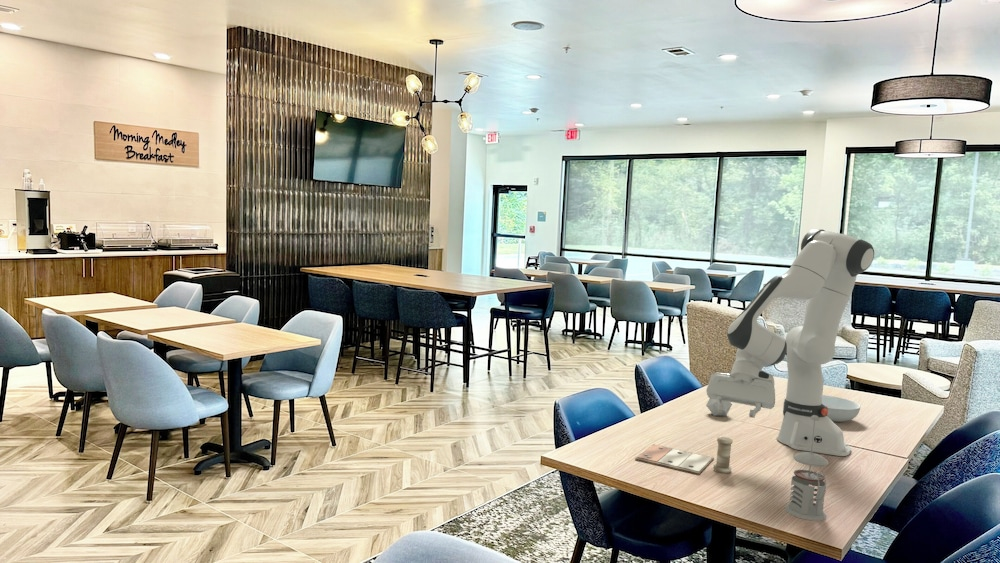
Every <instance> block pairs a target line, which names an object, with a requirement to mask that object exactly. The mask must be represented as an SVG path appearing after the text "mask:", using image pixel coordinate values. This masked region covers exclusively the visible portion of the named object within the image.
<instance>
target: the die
mask: <svg viewBox="0 0 1000 563" xmlns="http://www.w3.org/2000/svg"><path fill="white" fill-rule="evenodd" d="M721 404H723V406H724V409H723V412H720V411H718V410H717V408H718V404H717V400H716V399H711V398H709V399H708V401H707V402H706V404H705V406H706V407H707V409H708V411H709V412H710V413H711V414H712V415H713V416H714V417H715V416H716V417H718V416H719V417H720V416H721V417H723V416H724V417H727V415H728V414H729V411H730V409H731V407H732V405H733V402H728V401H723V400H722V402H721Z"/></svg>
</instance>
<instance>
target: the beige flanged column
mask: <svg viewBox="0 0 1000 563" xmlns="http://www.w3.org/2000/svg"><path fill="white" fill-rule="evenodd" d="M716 441H717V451H716V463H714V464H713V469H714V470H713V469H712V470H713V471H715V472H716V473H719V474H724V475H725V474H726V475H727V474H731V473H732V466H730V462H731V460H730V459H731V451H732V445H733V439H732V438H729V437H725V436H719V437H717V438H716Z"/></svg>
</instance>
